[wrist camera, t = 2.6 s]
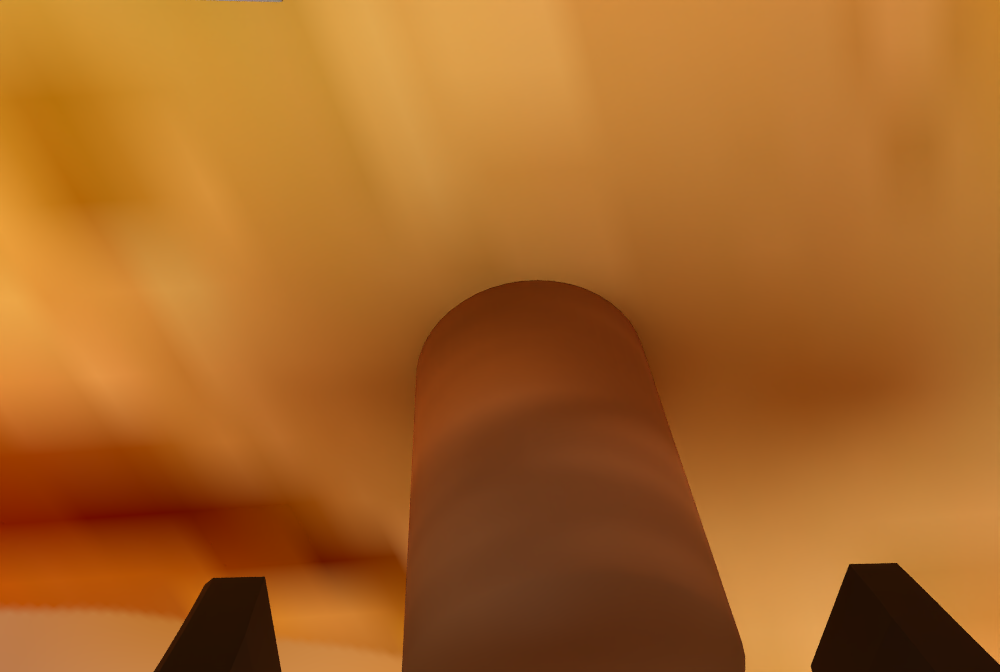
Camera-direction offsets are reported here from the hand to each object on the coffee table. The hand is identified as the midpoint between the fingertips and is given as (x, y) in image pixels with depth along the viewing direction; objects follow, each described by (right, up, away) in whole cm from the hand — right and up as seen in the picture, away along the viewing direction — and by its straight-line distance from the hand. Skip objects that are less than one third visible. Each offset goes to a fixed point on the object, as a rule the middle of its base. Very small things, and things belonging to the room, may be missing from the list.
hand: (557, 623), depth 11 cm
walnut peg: (0, +3, +4) cm, 5 cm away
